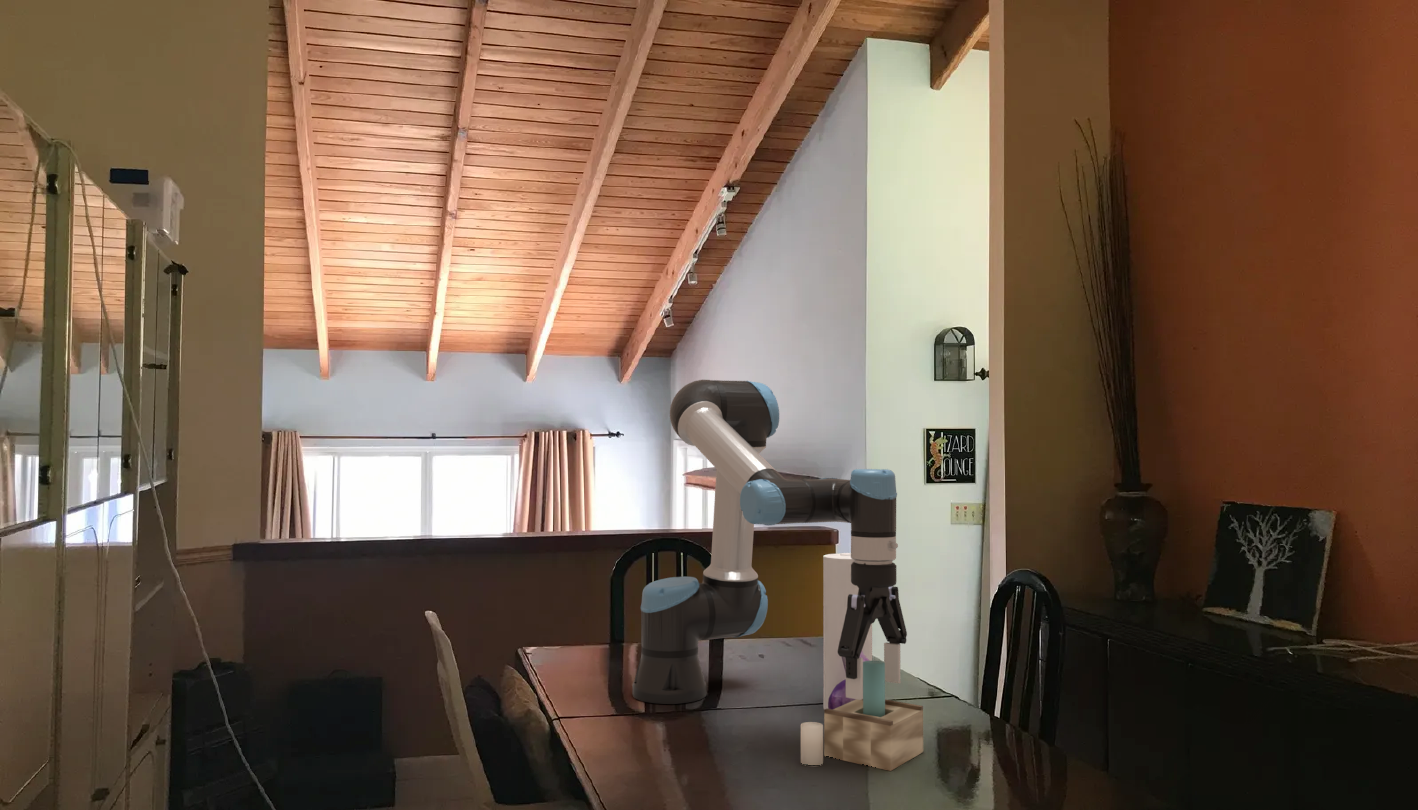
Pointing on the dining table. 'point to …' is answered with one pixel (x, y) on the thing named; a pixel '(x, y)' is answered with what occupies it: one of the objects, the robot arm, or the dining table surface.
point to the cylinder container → (836, 618)
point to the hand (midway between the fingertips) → (873, 690)
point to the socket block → (874, 734)
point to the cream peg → (812, 743)
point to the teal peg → (874, 688)
